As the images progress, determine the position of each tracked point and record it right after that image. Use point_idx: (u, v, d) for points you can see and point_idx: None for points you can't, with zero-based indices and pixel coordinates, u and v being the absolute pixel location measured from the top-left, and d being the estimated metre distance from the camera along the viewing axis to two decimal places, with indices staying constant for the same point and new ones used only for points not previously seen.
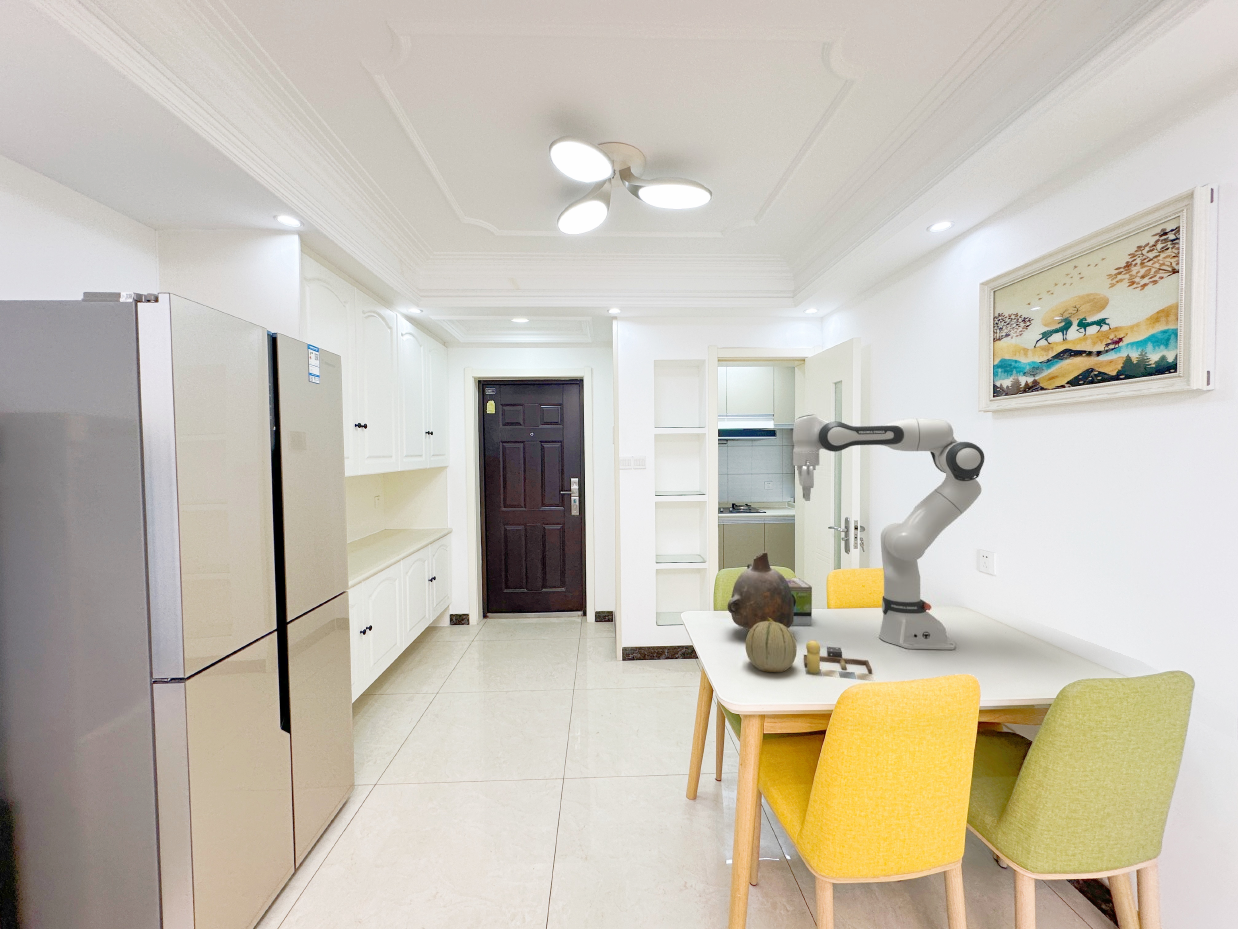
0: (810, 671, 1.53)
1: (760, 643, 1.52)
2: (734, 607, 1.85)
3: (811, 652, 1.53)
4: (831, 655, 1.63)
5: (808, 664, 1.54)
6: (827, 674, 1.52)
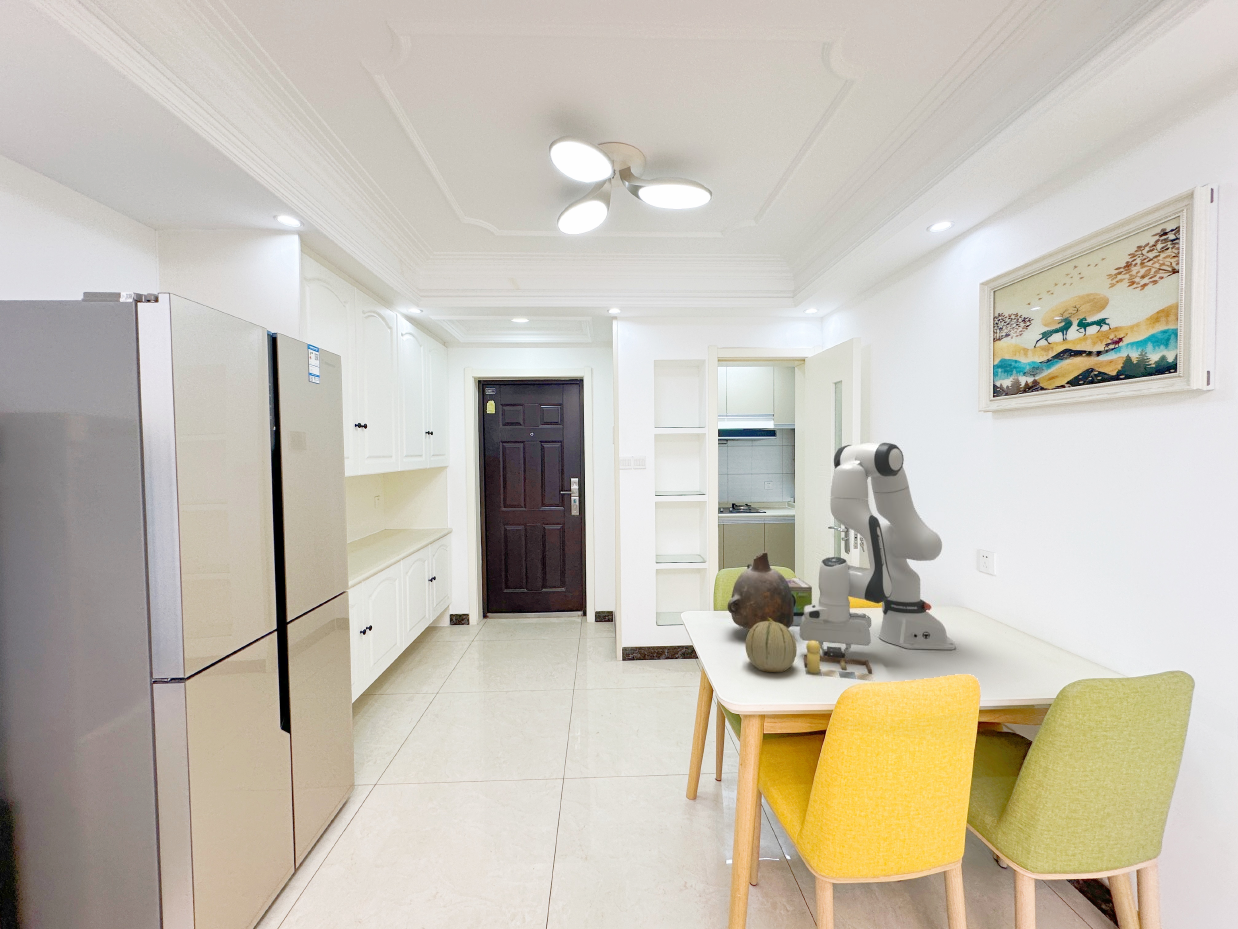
0: (810, 671, 1.53)
1: (760, 643, 1.52)
2: (734, 607, 1.85)
3: (811, 652, 1.53)
4: (831, 655, 1.63)
5: (808, 664, 1.54)
6: (827, 674, 1.52)
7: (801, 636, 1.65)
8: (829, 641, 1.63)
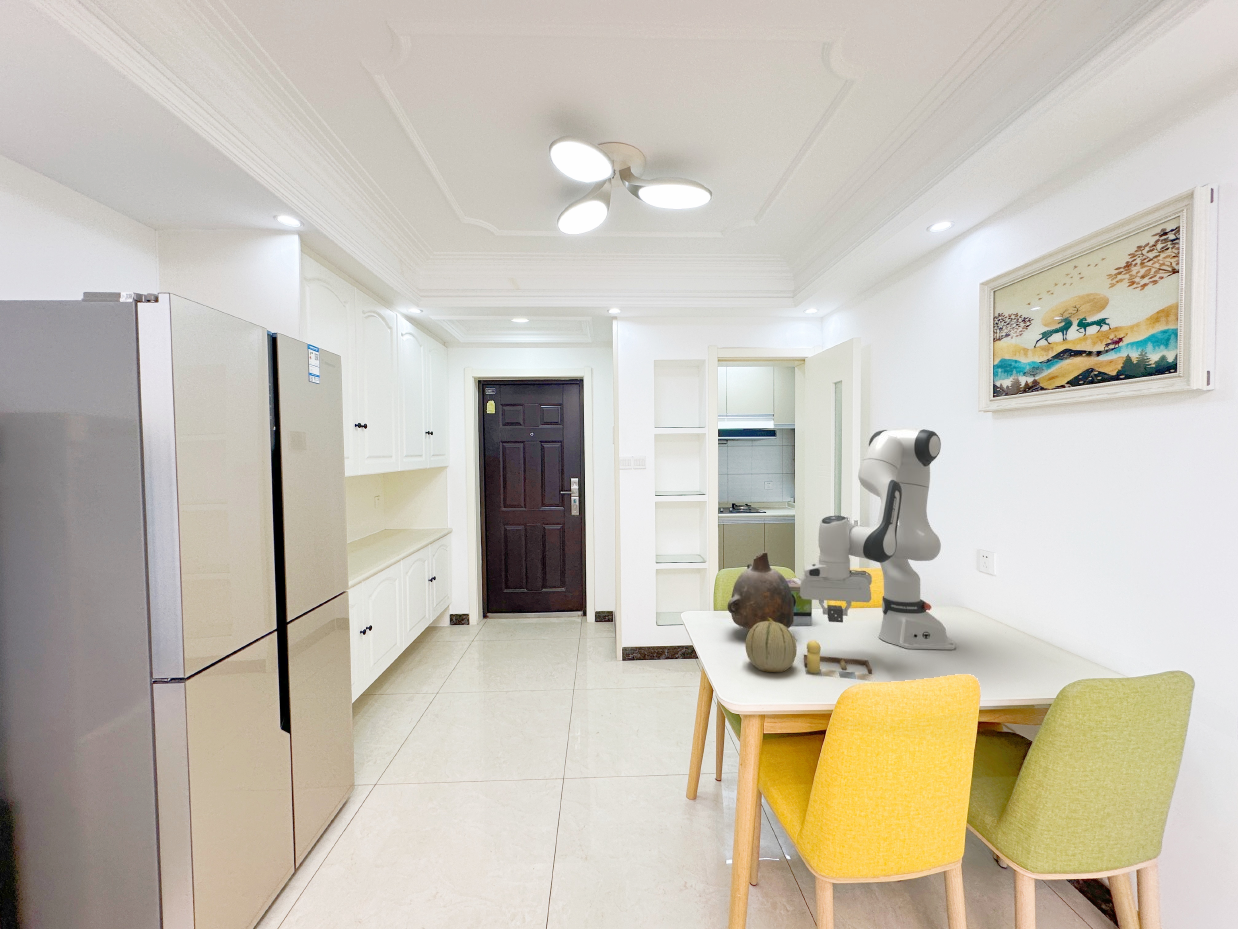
0: (810, 671, 1.53)
1: (760, 643, 1.52)
2: (734, 607, 1.85)
3: (811, 652, 1.53)
4: (832, 612, 1.62)
5: (808, 664, 1.54)
6: (827, 674, 1.52)
7: (801, 595, 1.65)
8: (829, 599, 1.63)
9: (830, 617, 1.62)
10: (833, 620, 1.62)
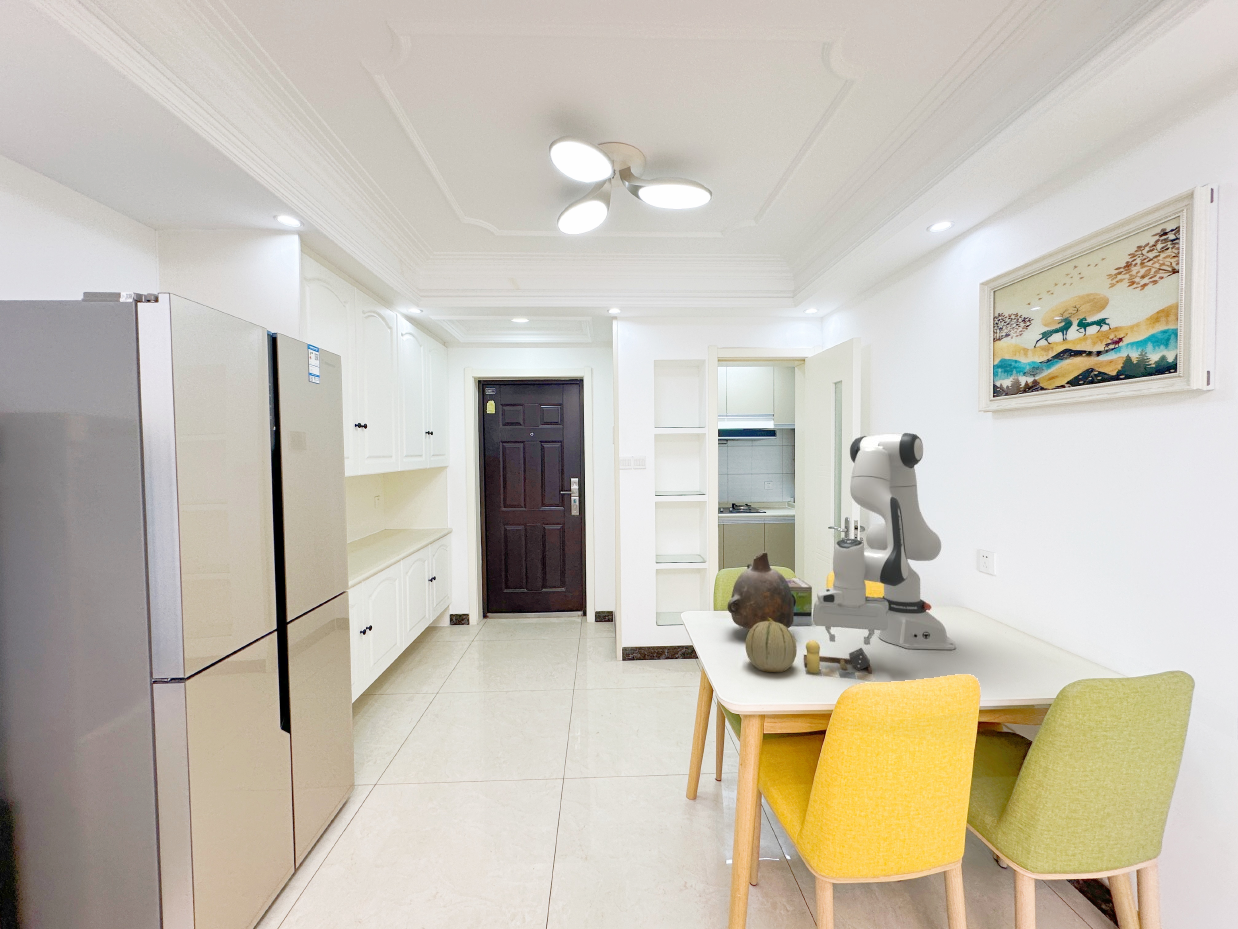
0: (810, 671, 1.53)
1: (760, 643, 1.52)
2: (734, 607, 1.85)
3: (810, 652, 1.53)
4: (860, 657, 1.55)
5: (808, 664, 1.54)
6: (827, 674, 1.52)
7: (815, 621, 1.58)
8: (844, 626, 1.56)
9: (854, 657, 1.55)
10: (853, 661, 1.55)
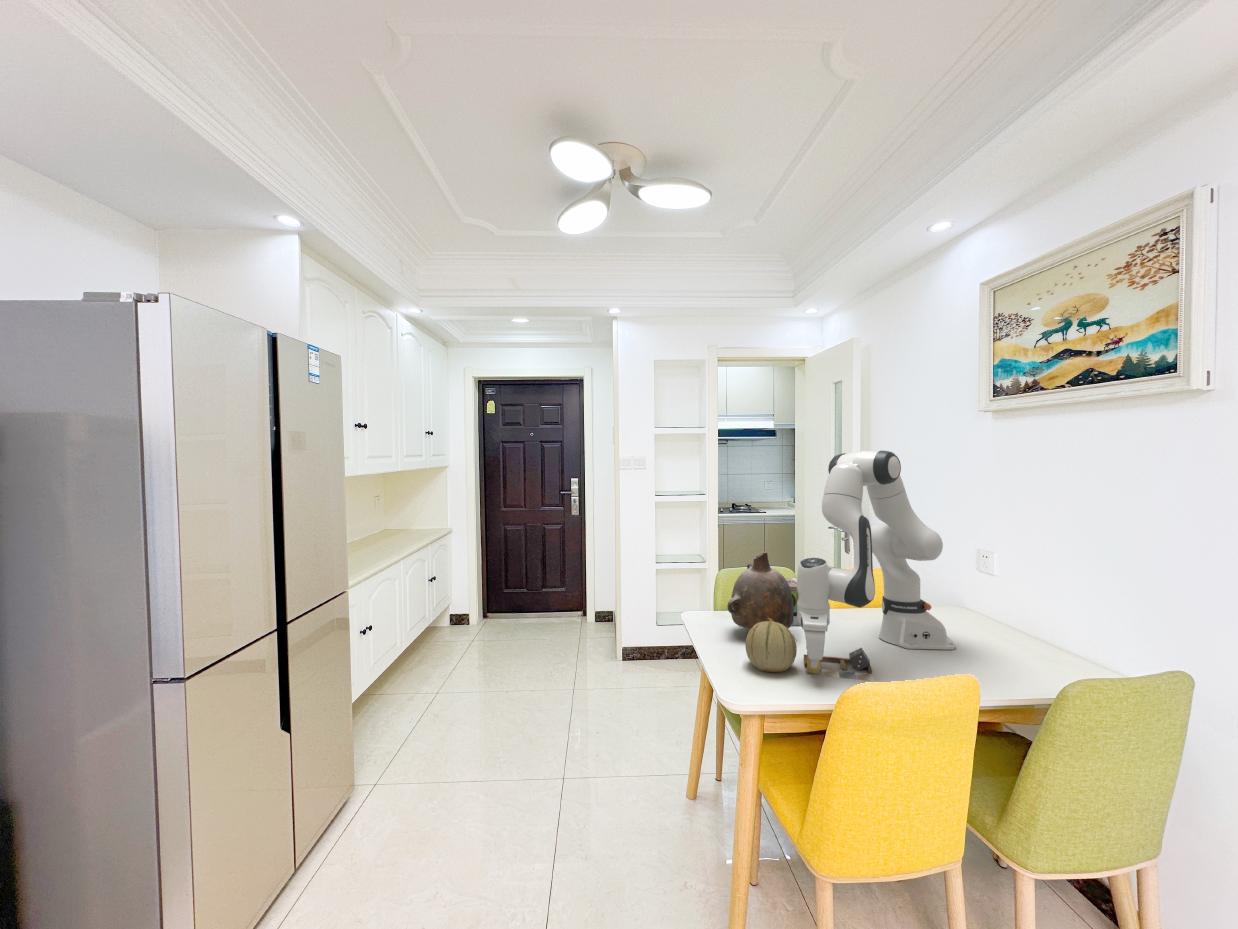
0: (809, 671, 1.53)
1: (760, 643, 1.52)
2: (734, 607, 1.85)
3: None
4: (860, 657, 1.55)
5: (808, 664, 1.54)
6: (827, 674, 1.52)
7: (822, 655, 1.44)
8: None
9: (854, 657, 1.55)
10: (853, 661, 1.55)
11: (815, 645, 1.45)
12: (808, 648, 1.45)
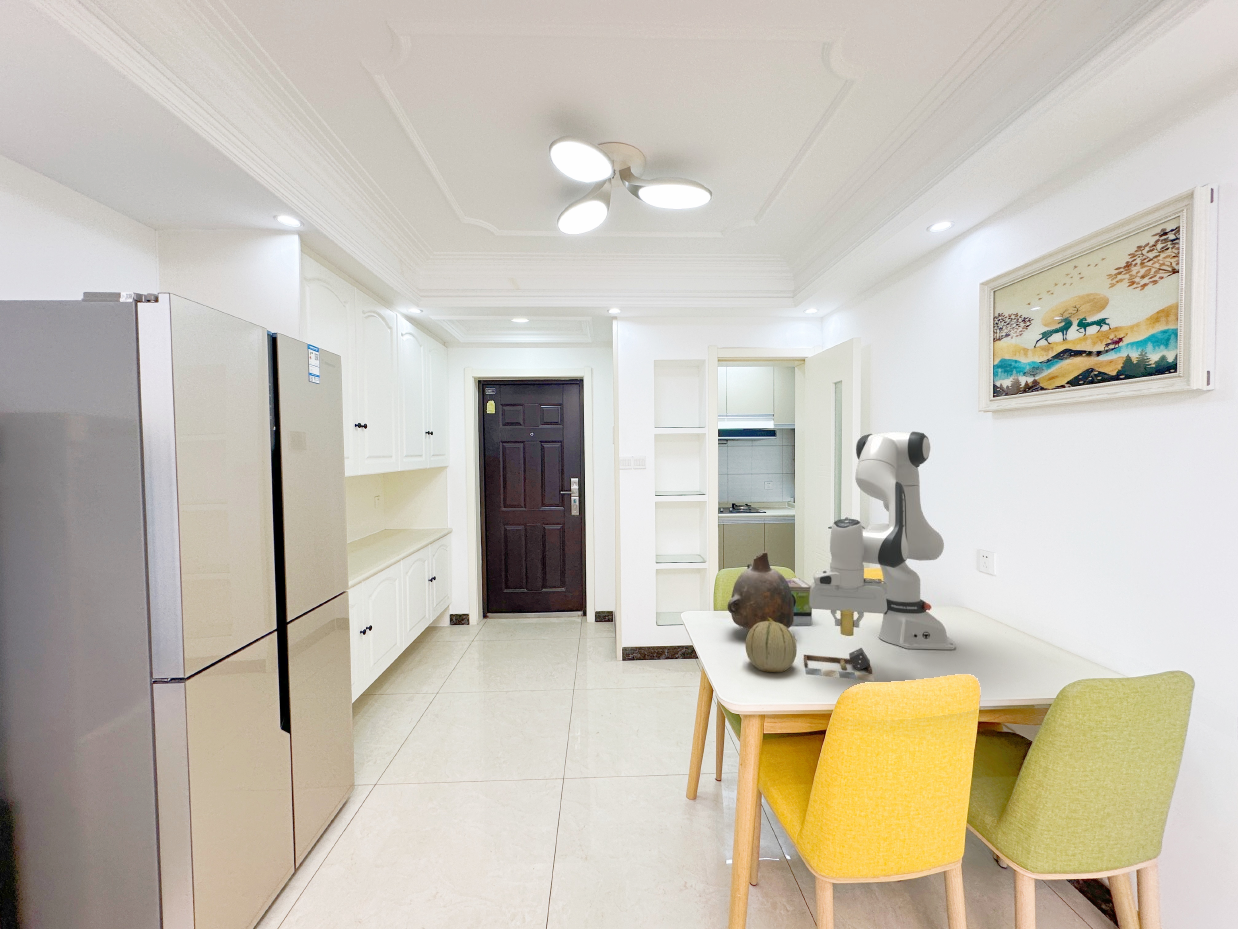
0: None
1: (760, 643, 1.52)
2: (734, 607, 1.85)
3: None
4: (860, 657, 1.55)
5: None
6: (827, 674, 1.52)
7: (811, 604, 1.52)
8: (841, 609, 1.50)
9: (854, 657, 1.55)
10: (853, 661, 1.55)
11: (810, 593, 1.54)
12: None
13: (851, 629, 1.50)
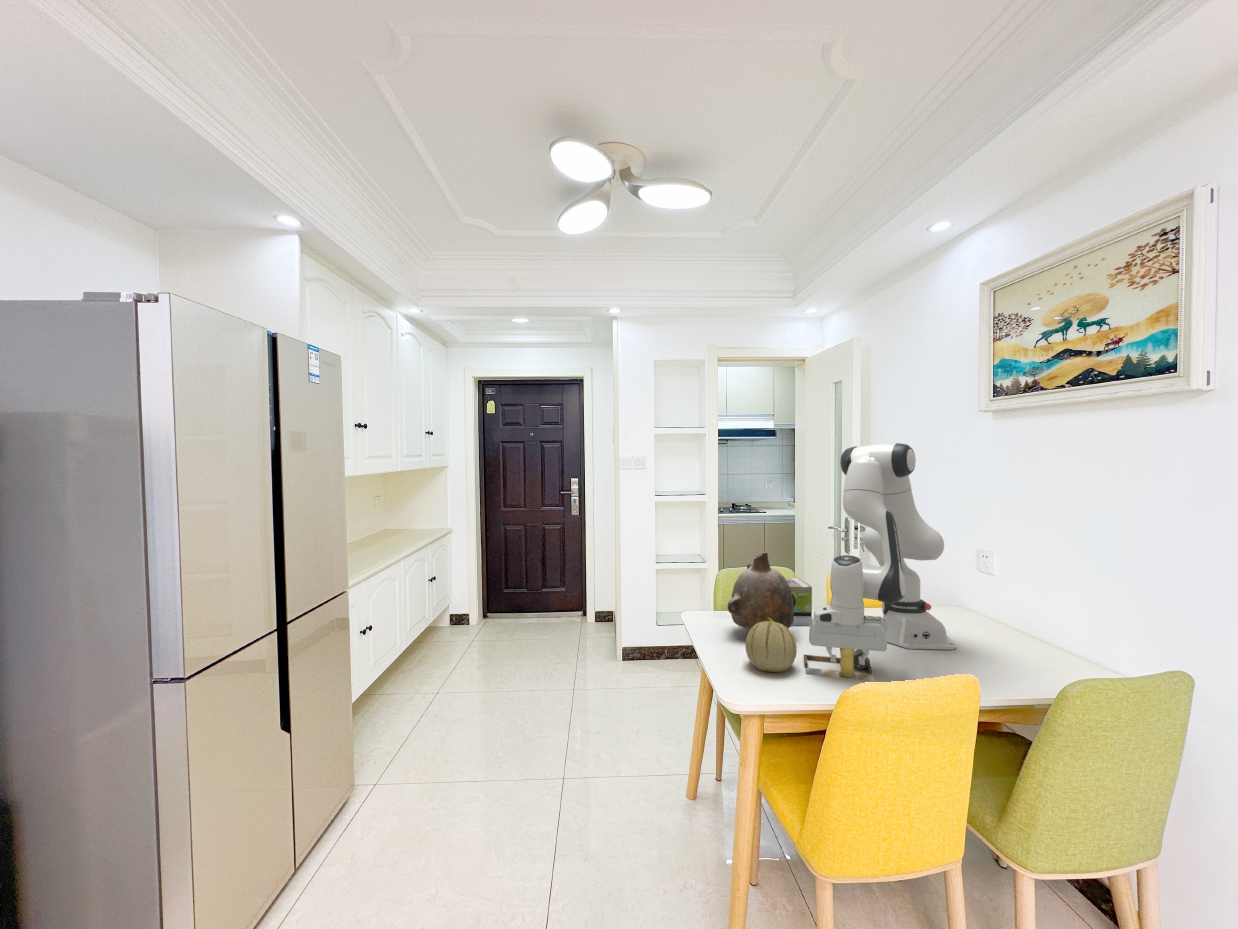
0: None
1: (760, 643, 1.52)
2: (734, 607, 1.85)
3: None
4: None
5: None
6: (827, 674, 1.52)
7: (811, 641, 1.52)
8: (842, 646, 1.50)
9: (854, 657, 1.55)
10: None
11: (810, 629, 1.54)
12: None
13: (851, 670, 1.50)
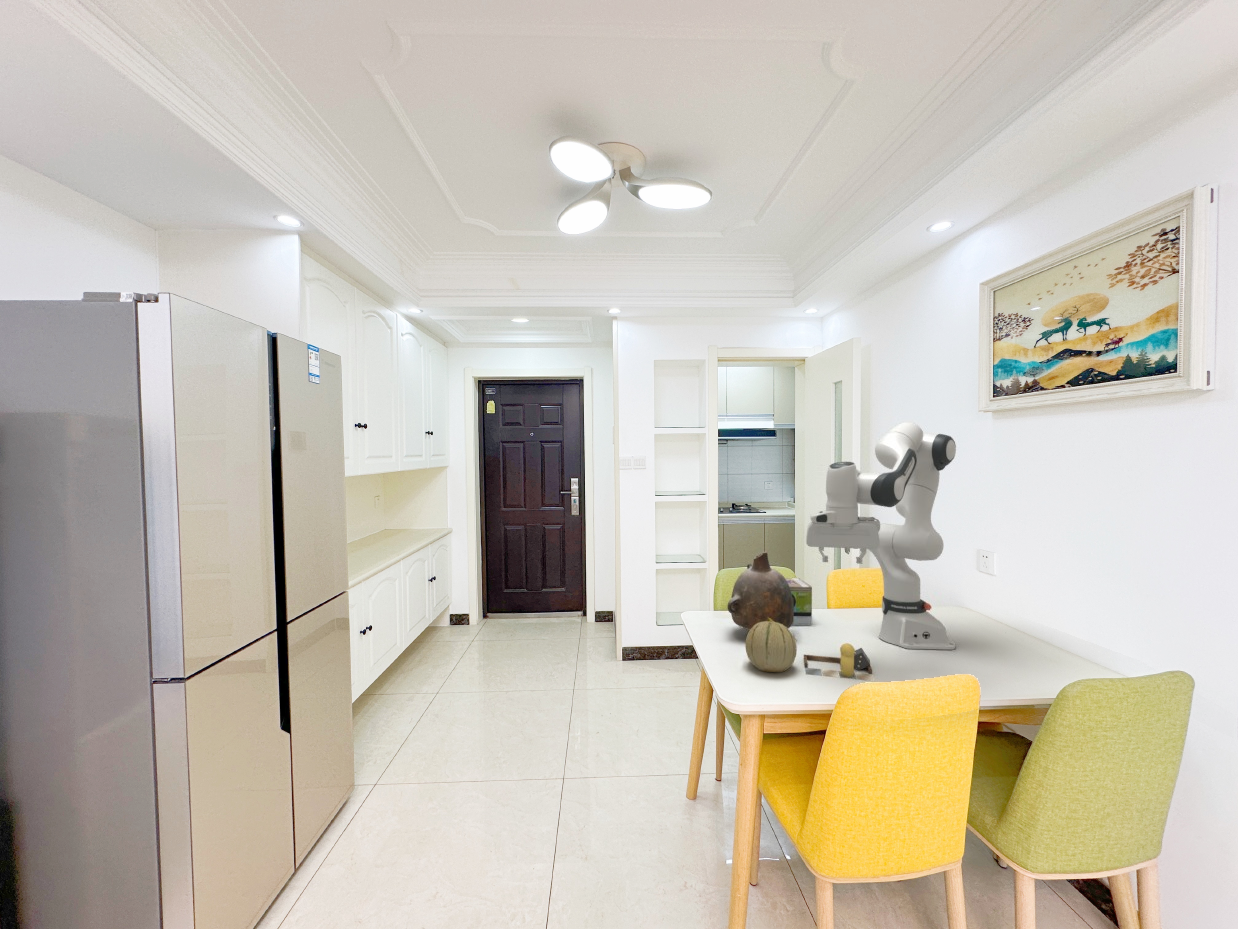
0: None
1: (760, 643, 1.52)
2: (734, 607, 1.85)
3: None
4: (860, 657, 1.55)
5: None
6: (827, 674, 1.52)
7: (808, 542, 1.61)
8: (837, 546, 1.59)
9: (854, 657, 1.55)
10: None
11: (807, 532, 1.63)
12: None
13: (851, 670, 1.50)
